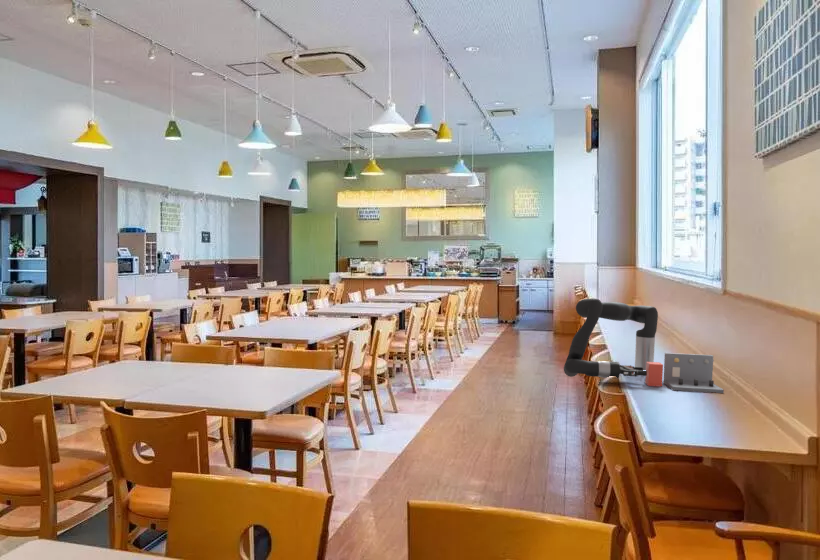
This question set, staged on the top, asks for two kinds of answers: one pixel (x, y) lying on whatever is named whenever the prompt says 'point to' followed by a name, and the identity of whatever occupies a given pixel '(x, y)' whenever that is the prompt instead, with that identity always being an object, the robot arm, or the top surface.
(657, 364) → the tall coral upright block
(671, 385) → the grey peg stand
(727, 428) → the top surface
